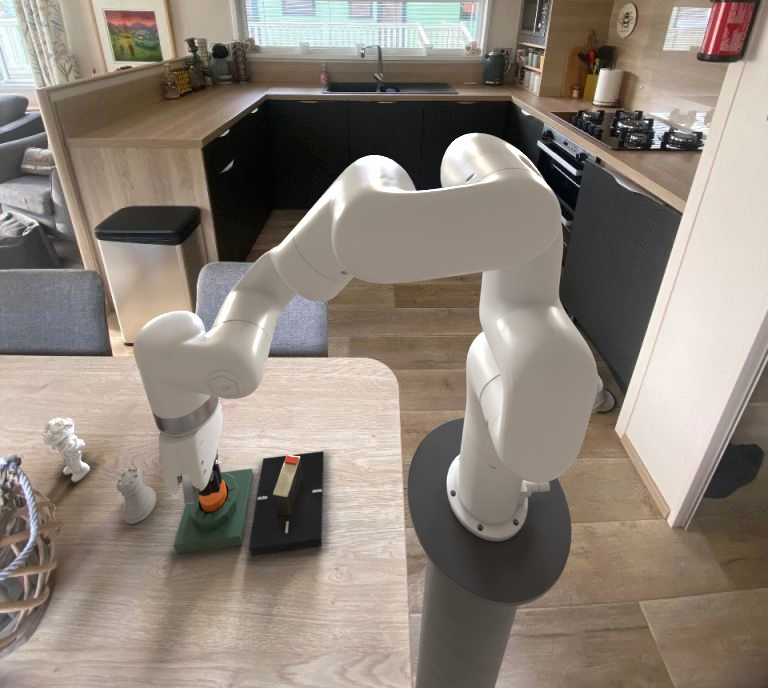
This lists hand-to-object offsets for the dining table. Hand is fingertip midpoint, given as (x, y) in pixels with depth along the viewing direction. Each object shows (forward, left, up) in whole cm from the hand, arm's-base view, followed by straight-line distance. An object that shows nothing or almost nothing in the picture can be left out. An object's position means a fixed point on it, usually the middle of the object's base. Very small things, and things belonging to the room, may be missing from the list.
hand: (209, 487), depth 57 cm
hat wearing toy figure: (+25, -9, -7) cm, 27 cm away
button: (0, 0, -3) cm, 3 cm away
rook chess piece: (+12, -2, -7) cm, 14 cm away
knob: (-11, 0, -4) cm, 12 cm away
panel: (-11, 0, -6) cm, 13 cm away
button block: (0, 0, -6) cm, 6 cm away
